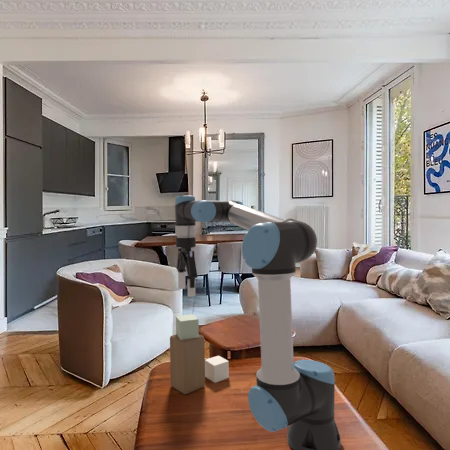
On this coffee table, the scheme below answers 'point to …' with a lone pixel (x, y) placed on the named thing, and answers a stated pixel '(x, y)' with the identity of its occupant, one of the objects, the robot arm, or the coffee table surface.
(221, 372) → the cream cube
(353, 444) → the coffee table surface
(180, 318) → the sage cube
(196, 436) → the coffee table surface
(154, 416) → the coffee table surface
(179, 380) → the wooden block
